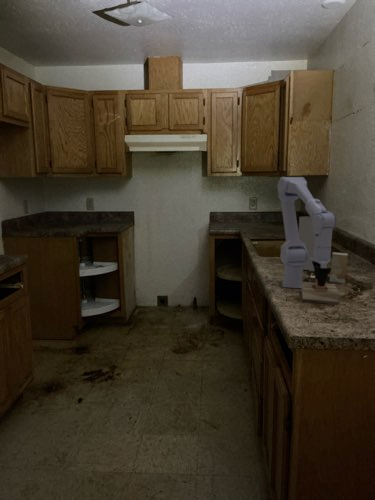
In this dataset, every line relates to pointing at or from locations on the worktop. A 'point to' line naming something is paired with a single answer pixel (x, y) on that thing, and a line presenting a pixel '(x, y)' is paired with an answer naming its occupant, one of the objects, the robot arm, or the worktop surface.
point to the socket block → (320, 293)
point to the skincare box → (338, 267)
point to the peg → (320, 286)
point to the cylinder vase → (307, 239)
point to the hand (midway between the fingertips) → (319, 283)
